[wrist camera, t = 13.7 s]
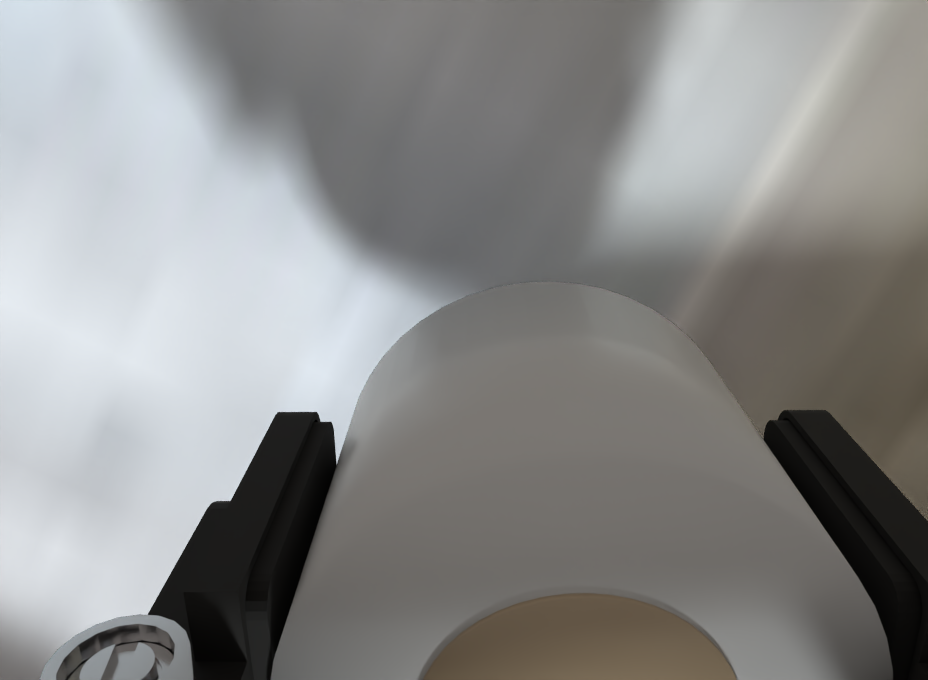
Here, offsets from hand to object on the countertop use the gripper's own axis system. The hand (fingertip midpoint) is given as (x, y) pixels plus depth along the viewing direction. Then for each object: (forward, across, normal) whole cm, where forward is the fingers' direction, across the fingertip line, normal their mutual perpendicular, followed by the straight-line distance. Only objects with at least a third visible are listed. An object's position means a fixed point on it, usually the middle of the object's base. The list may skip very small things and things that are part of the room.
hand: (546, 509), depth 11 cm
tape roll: (+1, 0, 0) cm, 1 cm away
